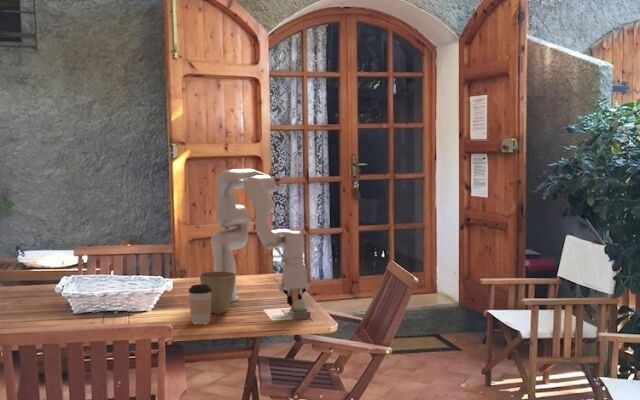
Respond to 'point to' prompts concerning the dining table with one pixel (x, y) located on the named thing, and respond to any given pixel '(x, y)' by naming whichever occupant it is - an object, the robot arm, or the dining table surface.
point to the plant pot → (219, 289)
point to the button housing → (300, 314)
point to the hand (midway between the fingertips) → (294, 304)
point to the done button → (299, 305)
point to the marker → (294, 296)
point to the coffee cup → (200, 303)
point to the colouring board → (279, 314)
